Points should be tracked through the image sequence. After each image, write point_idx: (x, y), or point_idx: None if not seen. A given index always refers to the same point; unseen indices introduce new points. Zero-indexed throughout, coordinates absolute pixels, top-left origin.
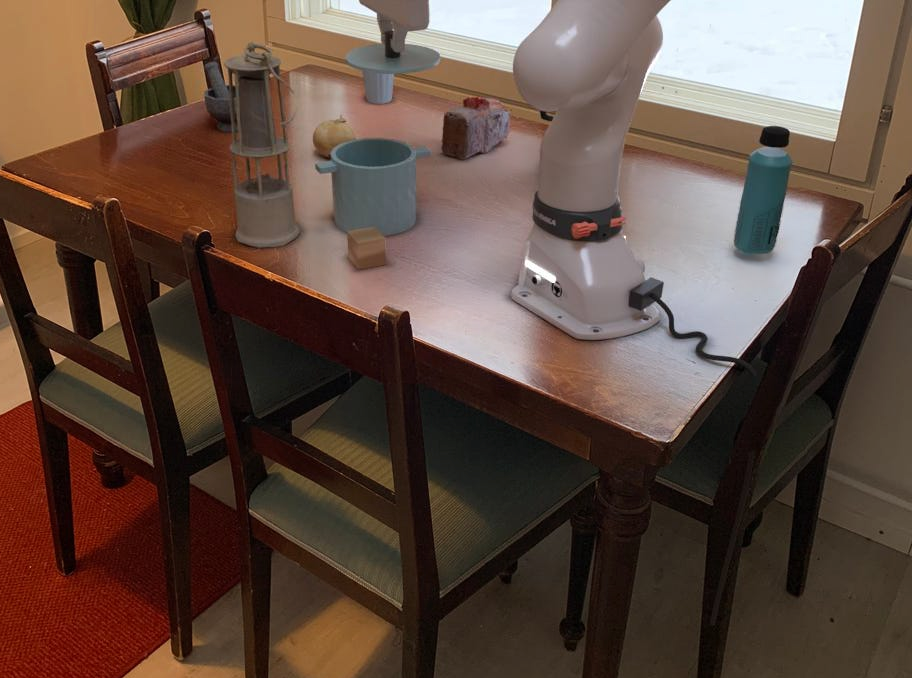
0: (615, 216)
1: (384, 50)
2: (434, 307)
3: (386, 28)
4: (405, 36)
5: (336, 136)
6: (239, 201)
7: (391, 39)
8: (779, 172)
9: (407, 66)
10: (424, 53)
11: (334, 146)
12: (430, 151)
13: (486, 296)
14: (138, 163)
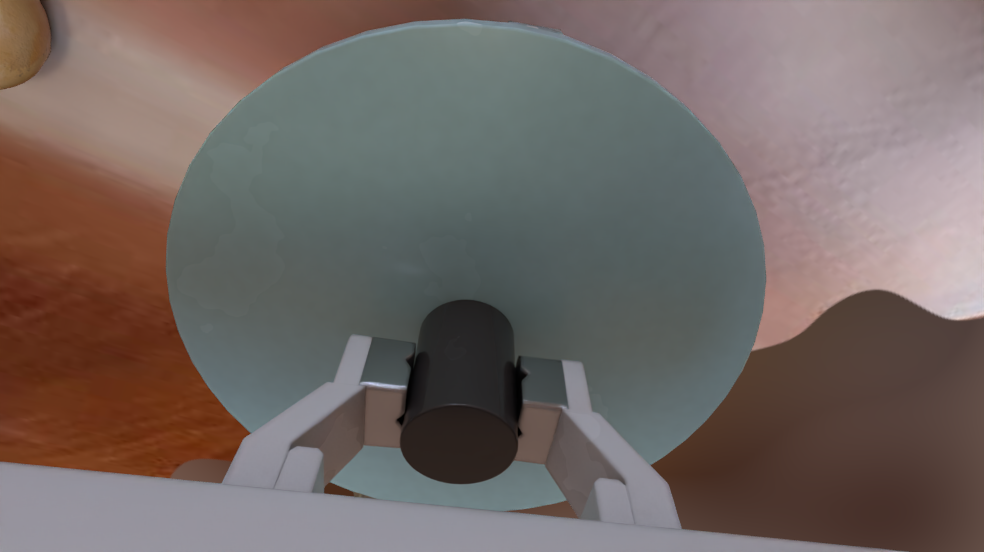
0: None
1: (329, 318)
2: (897, 255)
3: (341, 438)
4: (618, 437)
5: (6, 43)
6: None
7: (530, 461)
8: None
9: (695, 371)
10: (528, 150)
11: (37, 50)
12: (562, 33)
13: (964, 153)
14: (3, 401)
